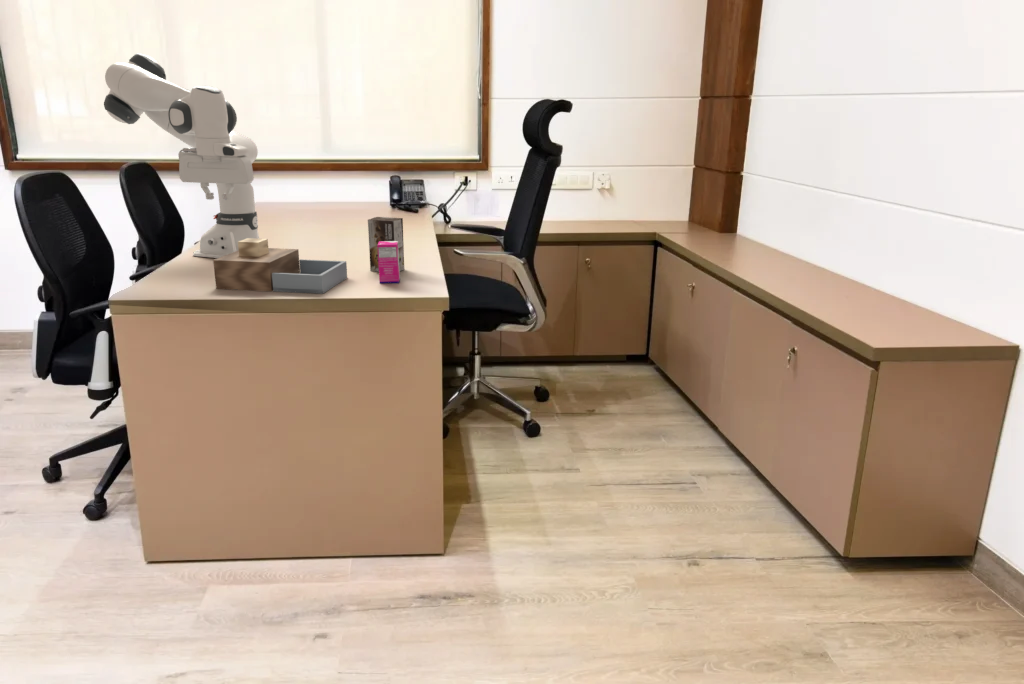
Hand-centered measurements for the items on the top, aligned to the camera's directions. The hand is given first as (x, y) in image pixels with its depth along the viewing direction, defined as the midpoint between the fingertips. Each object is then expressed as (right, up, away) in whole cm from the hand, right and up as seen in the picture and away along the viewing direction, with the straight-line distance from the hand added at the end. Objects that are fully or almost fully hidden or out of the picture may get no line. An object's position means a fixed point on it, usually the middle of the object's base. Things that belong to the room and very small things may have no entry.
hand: (218, 199), depth 209 cm
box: (+25, -23, +4) cm, 34 cm away
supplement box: (+46, -22, +9) cm, 52 cm away
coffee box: (+43, -18, +24) cm, 52 cm away
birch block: (+9, -15, +4) cm, 18 cm away
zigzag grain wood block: (+10, -23, +6) cm, 25 cm away
